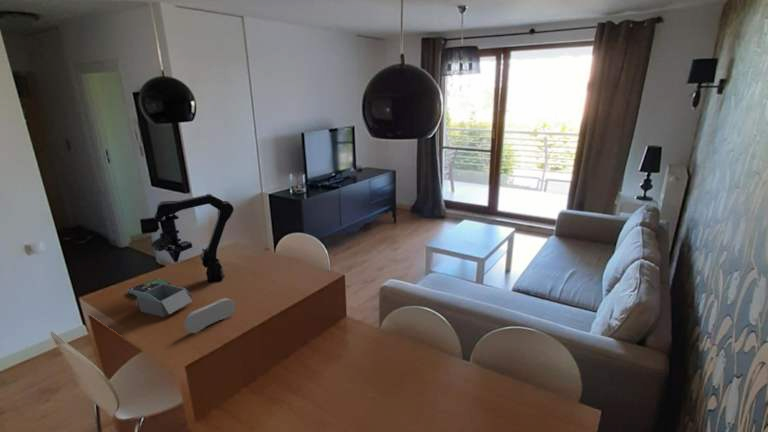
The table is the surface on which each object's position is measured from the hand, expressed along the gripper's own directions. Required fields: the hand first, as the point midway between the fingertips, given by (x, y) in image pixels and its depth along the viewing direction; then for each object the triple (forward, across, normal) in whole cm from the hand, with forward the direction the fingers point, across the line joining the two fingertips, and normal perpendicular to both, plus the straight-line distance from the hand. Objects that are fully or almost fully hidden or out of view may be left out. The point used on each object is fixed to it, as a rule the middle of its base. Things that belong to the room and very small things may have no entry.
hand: (176, 261), depth 178 cm
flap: (+3, +9, -23) cm, 25 cm away
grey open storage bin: (+13, +9, -14) cm, 21 cm away
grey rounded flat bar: (+13, +39, -18) cm, 45 cm away
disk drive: (+14, -13, -7) cm, 20 cm away
